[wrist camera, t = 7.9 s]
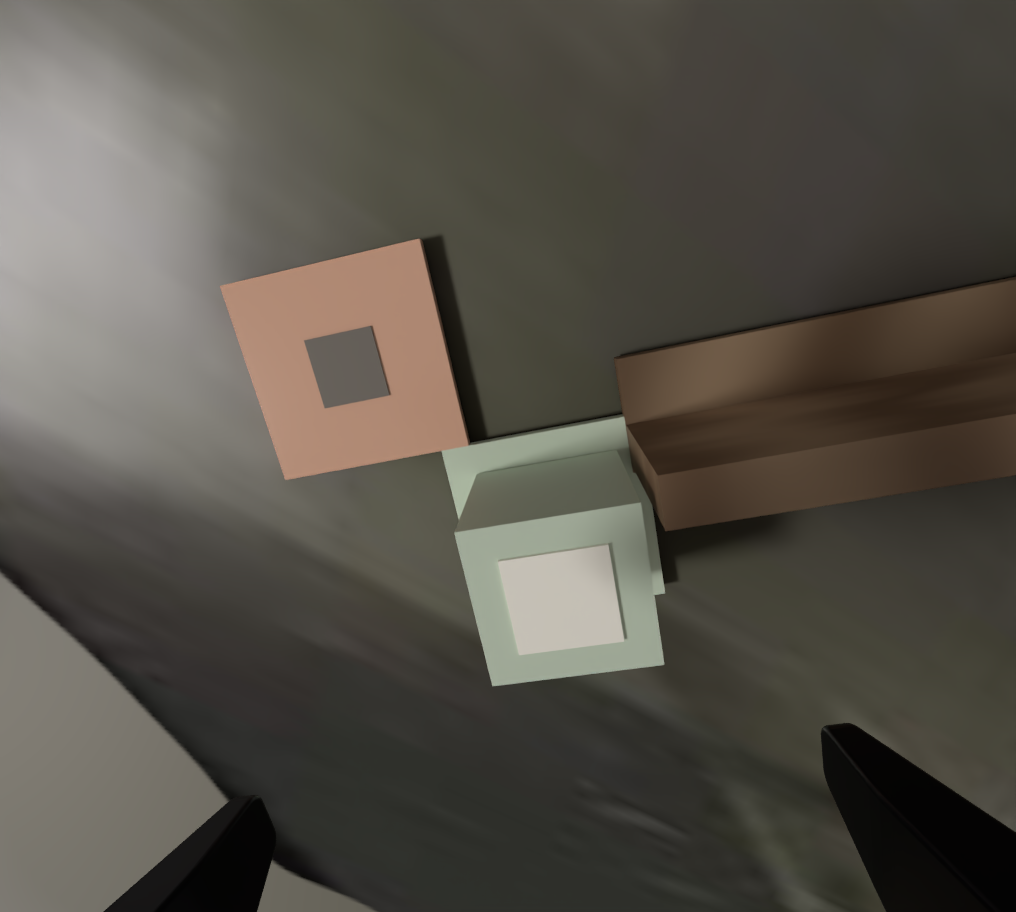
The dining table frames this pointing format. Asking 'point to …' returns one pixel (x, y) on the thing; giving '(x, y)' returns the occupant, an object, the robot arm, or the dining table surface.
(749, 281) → the dining table surface
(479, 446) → the sage pad
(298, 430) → the terracotta pad
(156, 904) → the robot arm
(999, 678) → the dining table surface
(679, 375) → the walnut screen
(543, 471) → the sage block
